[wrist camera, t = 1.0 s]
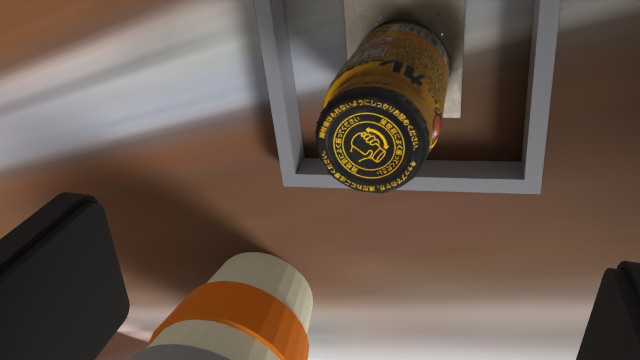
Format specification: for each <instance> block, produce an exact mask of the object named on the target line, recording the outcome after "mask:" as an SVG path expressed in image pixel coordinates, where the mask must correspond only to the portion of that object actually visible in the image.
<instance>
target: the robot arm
mask: <svg viewBox="0 0 640 360" xmlns="http://www.w3.org/2000/svg"><path fill="white" fill-rule="evenodd" d="M129 306H130V304H129V299H128V296H127V292H126V288H125V285H124V281H123V277H122V274H121V270H120V266H119V263H118V259H117V255H116V252H115V248H114V244H113V241H112V237H111V234H110V230H109V226H108V223H107V219H106V215H105V212H104V209H103V207H102V206H101V205H100V204H98V202H97V200H96V199H95V198H94V197H93V196H90V195H84V194H76V193H68V192H66V193H61V194H59V195H57V196H56V197H55V198H54V199H52V200H51V201H50V202H48V203H47V204H46V205H44V206H43V207H42V208H41V209H39V210H38V211H37V212H35V213H34V214H33V215H31V216H30V217H29V218H28V219H26V220H25V221H24V222H22V223H21V224H20V225H18V226H17V227H16V228H15V229H13V230H12V231H11V232H9V233H8V234H7V235H5V236H4V237H3V238H2V239H0V360H94V359H95V358H96V357H97V356H98V354H99V353H100V352H101V351H102V349H103V348H104V347H105V345H106V344H107V343H108V342H109V340H110V339H111V338H112V336H113V335H114V334H115V333H116V331H117V330H118V329H119V327H120V326H121V325H122V324H123V322H124V321H125V319H126V318H127V315H128V313H129ZM576 360H640V263H637V262H628V261H622V262H621V263H620V264H619V265H618V267H617V269H612V268H608V269H606V271H605V273H604V275H603V278H602V281H601V284H600V287H599V290H598V293H597V296H596V300H595V303H594V306H593V309H592V312H591V315H590V318H589V321H588V324H587V327H586V330H585V334H584V337H583V340H582V343H581V346H580V349H579V352H578V355H577V358H576Z"/></svg>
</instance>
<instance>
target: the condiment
mask: <svg viewBox="0 0 640 360" xmlns="http://www.w3.org/2000/svg"><path fill="white" fill-rule="evenodd" d="M465 1H466V0H343V2H344V19H345V32H346V48H347V60H348V61H347V62H346V63H345V64H344V66H343V67H342V69H341V71H340V72H339V73H338V74H337V76H336V77H335V79H334V80H333V81H332V83H331V85H330V87H329V90H328V92H327V94H326V96H325V100H324V102H323V107H322V112H321V115H320V117H319V120H318V121H317V127H316V131H315V132H316V146H317V151H318V155H319V158H320V160H321V161H322V162H323V164H324V165H325V167H326V168H327V170H328V173H329V174H330V175H331V176H332V177H333V178H335V179H336V180H337V181H339V182H340V183H342V184H344V185H346V186H348V187H350V188H352V189H354V190H358V191H362V192H372V193H385V192H388V191H391V190H395V189H398V188H400V187H402V186H403V185H405V184H406V183H408V182H409V181H411V180H412V179H413V178H415V177H416V176H417V174H418V173H419V172H420V171H421V169H422V168H423V166H424V164H425V162H426V159H427V156H428V153H429V152H430V151H431V150H432V148H433V147H434V145H435V143H436V142H437V140H438V137H439V134H440V130H441V126H442V120H443V118H460V111H461V89H462V67H463V45H464V26H465ZM380 15H382V18H381V20H380V21H377V19H378V17H379V16H380ZM375 22H378V25H377V26H373V24H374V23H375ZM442 33H443V34H444V35H443V36H441V34H442Z"/></svg>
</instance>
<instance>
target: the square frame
mask: <svg viewBox="0 0 640 360" xmlns="http://www.w3.org/2000/svg"><path fill="white" fill-rule="evenodd" d="M253 2H254V8H255V14H256V20H257V26H258V32H259V38H260V44H261V50H262V57H263V63H264V69H265V75H266V81H267V87H268V93H269V99H270V105H271V111H272V118H273V124H274V130H275V136H276V142H277V148H278V154H279V160H280V166H281V173H282V179H283V185H284V186H291V187H323V188H350V187H348V186H346V185H344V184H342V183H340V182H339V181H337V180H336V179H335V178H333V177H332V176H331V175H330V174H329V173H328V170H327V168H326V167H325V165H324V164H323V162H322V161H321V160H320V158H305V155H304V148H303V140H302V133H301V126H300V118H299V111H298V104H297V97H296V89H295V82H294V75H293V68H292V60H291V53H290V46H289V38H288V31H287V24H286V17H285V9H284V2H283V0H253ZM560 5H561V0H535V4H534V16H533V28H532V40H531V52H530V64H529V76H528V88H527V99H526V111H525V123H524V135H523V147H522V159H521V162H518V161H453V160H426V162H425V164H424V166H423V168H422V169H421V171H420V172H419V173H418V174H417V176H416V177H415V178H413V179H412V180H411V181H409V182H408V183H406V184H405V185H403V186H402V187H400V188H398V189H395V190H420V191H452V192H485V193H517V194H540V192H541V183H542V174H543V164H544V155H545V146H546V136H547V127H548V117H549V108H550V99H551V89H552V80H553V71H554V61H555V52H556V43H557V33H558V24H559V15H560Z"/></svg>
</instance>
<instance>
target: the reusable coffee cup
mask: <svg viewBox="0 0 640 360" xmlns="http://www.w3.org/2000/svg"><path fill="white" fill-rule="evenodd" d="M312 306H313V297H312V292H311V289H310V287H309V284H308V283H307V281H306V280H305V278H304V277H303V276H302V275H301V274H300V272H299V271H298V270H297V269H295V268H294V267H293V266H292V265H290V264H289V263H287V262H285V261H284V260H282V259H280V258H278V257H275V256H273V255H270V254H265V253H261V252H247V253H241V254H238V255H235V256H233V257H232V258H230V259H228V260H227V261H226V262H225V263H224V264H223V266H222V267H221V268H220V269H219V270H218V271H217V272H216V273H215V274H214V275H213V276H212V277H211V279H210V280H209V281H208V282H207V283H206V284H204V285H201V286H199V287H198V288H196V289H194V290H193V291H192V292H191V293H190V294H189V295H188V296H187V297H186V298H185V299H184V300H183V301H182V302H181V304H180V305H179V306H178V307H177V308H176V309H175V310H174V311H173V312H172V313H171V314H170V315H169V316H168V317H167V318H166V319H165V321H164V322H163V323H162V324H161V325H160V326H159V327H158V328H157V329H156V330H155V331H154V332H153V335H152V337H151V339H150V342H149V346H148V347H147V348H145V349H143V350H142V351H140V352H138V353H136V354H135V355H134V356H133V357H132V358H131V359H130V360H307V359H308V352H309V343H308V338H307V332H308V327H309V322H310V317H311V312H312Z"/></svg>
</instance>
